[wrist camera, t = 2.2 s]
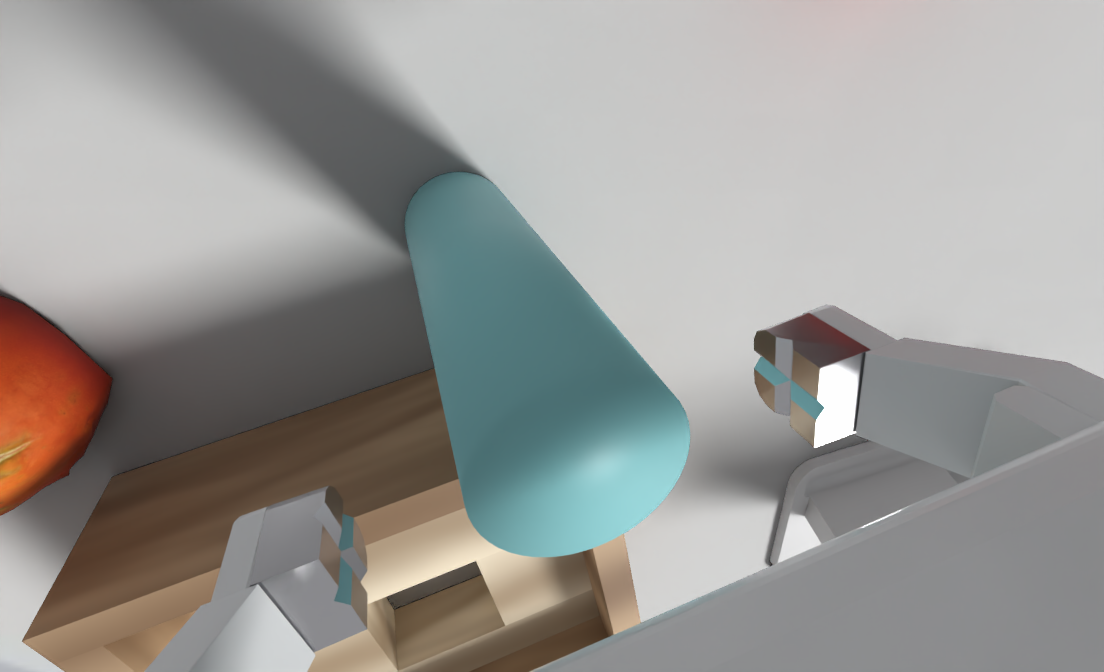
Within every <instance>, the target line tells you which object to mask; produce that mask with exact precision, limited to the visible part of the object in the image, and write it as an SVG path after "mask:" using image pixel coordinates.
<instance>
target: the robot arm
mask: <svg viewBox="0 0 1104 672" xmlns="http://www.w3.org/2000/svg"><path fill="white" fill-rule="evenodd" d="M754 350H755V351H756V352H757V353H758V354H759V355H760V356H761V357H760V359H759V361H758V363H757V364H756V366H755V368H754V376H755V384H756V387H757V389H758V392H759V395H760V396H761V398H762V399H763V401H764V402H765V404H766V405H767V406H768V407H769V408H771V409H772V410H773V411H774V412H776V413H779V414H783V415H786V416H789V418H790V427H792V428H793V429H794V430H795V431H796V432H797V433H798V434H799V435H801V436H802V437H803V438H804V439H805V440H806V441H807V442H808V443H810V444H811V445H812V446H813V447H814V448H816V447H819V446H821V445H824V444H827V443H829V442H832V441H835V440H837V439H840V438H843V437H845V436H848V435H851V434H853V433H856V434H855V435H857V436H859V437H862V438H865V439H867V440H870V441H872V442H875V443H878V444H880V445H883V446H886V447H888V448H891V449H894V450H896V451H899V452H902V453H904V454H907V455H910V456H912V457H915V458H918V459H920V460H923V461H926V462H928V463H931V464H934V465H936V466H939V467H942V468H944V469H947V470H950V471H952V472H955V473H958V474H960V475H963V476H966V477H968V478H970V479H969V480H966V481H964V482H962V483H959V484H957V485H955V486H953V487H950V488H948V489H946V490H943V491H941V492H939V493H937V494H934V495H932V496H930V497H927V498H925V499H923V500H921V501H918V502H916V503H914V504H911V505H909V506H907V507H905V508H902V509H900V510H898V511H895V512H893V513H891V514H889V515H886V516H884V517H882V518H879V519H877V520H875V521H873V522H870V523H868V524H866V525H864V526H861V527H859V528H857V529H854V530H852V531H850V532H848V533H845V534H843V535H841V536H838V537H836V538H834V539H832V540H829V541H827V542H825V543H823V544H820V545H818V546H816V547H813V548H811V549H809V550H807V551H804V552H802V553H800V554H798V555H795V556H793V557H791V558H788V559H786V560H784V561H782V562H779V563H777V564H775V565H772V566H770V567H768V568H766V569H763V570H761V571H759V572H757V573H754V574H752V575H750V576H747V577H745V578H743V579H741V580H738V581H736V582H734V583H731V584H729V585H727V586H724V587H722V588H720V589H718V590H715V591H713V592H711V593H708V594H706V595H704V596H702V597H699V598H697V599H695V600H692V601H690V602H688V603H686V604H683V605H681V606H679V607H676V608H674V609H672V610H669V611H667V612H665V613H663V614H660V615H658V616H656V617H653V618H651V619H649V620H647V621H644V622H642V623H640V624H637V625H635V626H633V627H631V628H628V629H626V630H624V631H621V632H619V633H617V634H614V635H612V636H610V637H608V638H605V639H603V640H601V641H598V642H596V643H594V644H592V645H589V646H587V647H585V648H582V649H580V650H578V651H576V652H573V653H571V654H569V655H566V656H564V657H562V658H559V659H557V660H555V661H553V662H550V663H548V664H546V665H543V666H541V667H539V668H537V669H534V670H532V671H530V672H1104V379H1103V378H1100V377H1098V376H1096V375H1094V374H1092V373H1089V372H1087V371H1085V370H1083V369H1081V368H1078V367H1076V366H1074V365H1072V364H1070V363H1067V362H1062V361H1055V360H1048V359H1042V358H1035V357H1028V356H1022V355H1015V354H1009V353H1002V352H995V351H989V350H982V349H976V348H969V347H962V346H956V345H949V344H942V343H936V342H929V341H923V340H916V339H909V338H903V339H900V340H896V339H894V338H892V337H890V336H889V335H887V334H885V333H883V332H881V331H879V330H878V329H876V328H874V327H872V326H870V325H869V324H867V323H865V322H863V321H861V320H859V319H858V318H856V317H854V316H852V315H850V314H848V313H847V312H845V311H843V310H841V309H839V308H838V307H836V306H832V305H824V306H821V307H819V308H816V309H814V310H811V311H808V312H806V313H803V314H802V315H800V316H797V317H795V318H792V319H789V320H786V321H784V322H781V323H778V324H775V325H773V326H770V327H767V328H765V329H762V330H759V331H757V333H756V335H755V338H754ZM367 571H368V568H367V552H366V547H365V542H364V538H363V536H362V533H361V531H360V528H359V526H358V525H357V523H356V521H355V519H354V518H353V517H350V516H348V515H345V514H343V499H342V498H341V496H340V495H339V493H338V492H337V490H336V489H335V487H332V486H326V487H323V488H320V489H317V490H314V491H311V492H308V493H305V494H302V495H299V496H296V497H293V498H290V499H287V500H284V501H282V502H279V503H276V504H273V505H270V506H269V507H265V508H262V509H259V510H256V511H253V512H250V513H248V514H245V515H242V516H240V517H239V518H238V519H237V520H236V521H235V522H234V523H233V526H232V530H231V533H230V537H229V540H228V543H227V547H226V550H225V554H224V557H223V561H222V564H221V568H220V571H219V575H218V578H217V582H216V585H215V589H214V592H213V596H212V599H211V602H209V603H207V604H204V605H202V606H200V607H199V608H198V610H197V611H196V612H195V613H194V614H193V615H192V617H191V618H190V619H189V620H188V621H187V622H186V623H185V625H184V626H183V627H182V628H181V629H180V630H179V632H178V633H177V634H176V635H175V636H174V637H173V639H172V640H171V641H170V642H169V643H168V644H167V646H166V647H165V648H164V649H163V650H162V651H161V653H160V654H159V655H158V656H157V657H156V658H155V660H154V661H153V662H152V663H151V664H150V665H149V667H148V668H147V669H146V670H145V671H144V672H307V671H308V669H309V667H310V665H311V663H312V661H313V659H314V657H315V653H314V652H316V651H319V650H321V649H323V648H325V647H328V646H330V645H332V644H335V643H337V642H339V641H342V640H344V639H346V638H348V637H351V636H353V635H355V634H358V633H360V632H362V631H364V630H367V601H368V593H367V592H366V590H365V588H364V587H363V585H362V584H361V580H362V579H363V577H364V575H365V574H366V572H367Z"/></svg>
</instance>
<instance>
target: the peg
mask: <svg viewBox="0 0 1104 672" xmlns="http://www.w3.org/2000/svg"><path fill="white" fill-rule="evenodd" d="M405 234H406V239H407V244H408V248H409V253H410V258H411V262H412V267H413V271H414V276H415V280H416V285H417V290H418V294H419V299H420V303H421V308H422V313H423V317H424V322H425V326H426V331H427V336H428V340H429V345H430V349H431V354H432V358H433V363H434V368H435V372H436V377H437V381H438V386H439V391H440V395H441V400H442V404H443V409H444V414H445V418H446V423H447V427H448V432H449V436H450V441H451V446H452V450H453V455H454V459H455V464H456V469H457V473H458V478H459V482H460V487H461V492H462V496H463V501H464V505H465V509H466V512H467V515H468V518H469V519H470V521H471V523H472V525H473V527H474V528H475V529H476V530H477V532H478V533H479V534H480V535H481V536H482V537H483V538H484V539H486V540H487V541H488V542H489V543H491V544H493V545H494V546H496V547H498V548H500V549H502V550H505V551H507V552H510V553H514V554H518V555H522V556H529V557H557V556H564V555H570V554H575V553H579V552H582V551H586V550H589V549H592V548H595V547H597V546H600V545H602V544H604V543H607V542H609V541H611V540H613V539H615V538H617V537H618V536H620V535H622V534H624V533H626V532H627V531H629V530H630V529H632V528H633V527H635V526H636V525H637V524H639V523H640V522H641V521H642V520H644V519H645V518H646V517H647V516H648V515H649V514H651V513H652V512H653V511H654V510H655V509H656V508H657V507H658V506H659V505H660V504H661V502H662V501H663V500H664V499H665V498H666V497H667V495H668V494H669V493H670V491H671V490H672V488H673V487H674V485H675V484H676V482H677V480H678V479H679V477H680V475H681V473H682V470H683V468H684V466H685V463H686V460H687V456H688V452H689V446H690V428H689V421H688V418H687V415H686V413H685V410H684V408H683V407H682V405H681V403H680V401H679V400H678V399H677V398H676V397H675V396H674V394H673V393H672V392H671V391H670V390H669V389H668V387H667V386H666V385H665V384H664V383H663V381H662V380H661V379H660V378H659V377H658V376H657V374H656V373H655V372H654V371H653V370H652V369H651V367H650V366H649V365H648V364H647V363H646V361H645V360H644V359H643V358H642V357H641V356H640V354H639V353H638V352H637V351H636V350H635V349H634V347H633V346H632V345H631V344H630V343H629V341H628V340H627V339H626V338H625V337H624V336H623V334H622V333H621V332H620V331H619V330H618V329H617V327H616V326H615V325H614V324H613V323H612V321H611V320H610V319H609V318H608V317H607V316H606V314H605V313H604V312H603V311H602V310H601V309H600V307H599V306H598V305H597V304H596V303H595V301H594V300H593V299H592V298H591V297H590V296H589V294H588V293H587V292H586V291H585V290H584V289H583V287H582V286H581V285H580V284H579V283H578V282H577V280H576V279H575V278H574V277H573V276H572V274H571V273H570V272H569V271H568V270H567V269H566V267H565V266H564V265H563V264H562V263H561V262H560V260H559V259H558V258H557V257H556V256H555V254H554V253H553V252H552V251H551V250H550V249H549V247H548V246H547V245H546V244H545V243H544V242H543V240H542V239H541V238H540V237H539V236H538V234H537V233H536V232H535V231H534V230H533V229H532V227H531V226H530V225H529V224H528V223H527V222H526V220H525V219H524V218H523V217H522V216H521V214H520V213H519V212H518V211H517V210H516V209H515V207H514V206H513V205H512V204H511V203H510V202H509V200H508V199H507V198H506V197H505V196H504V194H503V193H502V192H501V191H500V190H499V189H498V188H497V187H496V186H495V185H494V184H493V183H492V182H490V181H489V180H487V179H485V178H483V177H481V176H479V175H476V174H473V173H468V172H450V173H445V174H442V175H439V176H436V177H435V178H433V179H431V180H429V181H428V182H426V183H425V184H424V185H423V186H421V187H420V188H419V189H418V191H417V192H416V193H415V194H414V196H413V197H412V199H411V201H410V203H409V205H408V207H407V211H406V215H405Z"/></svg>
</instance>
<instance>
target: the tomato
mask: <svg viewBox="0 0 1104 672" xmlns="http://www.w3.org/2000/svg"><path fill="white" fill-rule="evenodd" d="M112 380H113V379H112V378H111V377H110V376H109V375H108V374H107V373H106V372H105V371H104V370H103V369H102V368H100V367H99V366H98V365H97V364H96V363H95V362H94V361H93V360H92V359H91V358H90V357H89V356H87V355H86V354H85V353H84V352H83V351H82V350H81V349H80V348H79V347H78V346H77V345H76V344H74V343H73V342H72V341H71V340H70V339H69V338H68V337H67V336H66V335H65V334H63V333H62V332H61V331H59V330H58V329H57V328H55V327H54V326H53V325H51V324H50V323H49V322H47V321H46V320H45V319H43V318H42V317H41V316H39V315H38V314H37V313H35V312H34V311H33V310H31V309H30V308H29V307H27V306H26V305H25V304H22V303H19V302H17V301H14V300H11V299H8V298H5V297H3V296H0V516H1V515H3V514H5V513H7V512H9V511H11V510H13V509H14V508H16V507H17V506H19V505H20V504H22V503H23V502H25V501H26V500H28V499H29V498H31V497H32V496H34V495H35V494H36V493H37V492H39V491H40V490H42V489H43V488H44V487H46V486H48V485H50V484H52V483H54V482H56V481H57V480H59V479H61V478H64V477H66V476H68V475H69V469H70V468H71V467H72V466H73V465H74V464H75V463H76V462H77V461H78V460H79V459H80V458H81V457H82V456H83V455H84V453H85V451H86V449H87V447H88V445H89V443H90V441H91V439H92V437H93V435H94V433H95V430H96V428H97V425H98V423H99V420H100V418H101V416H102V414H103V411H104V409H105V407H106V405H107V403H108V398H109V394H110V389H111V384H112Z"/></svg>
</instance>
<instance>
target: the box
mask: <svg viewBox="0 0 1104 672" xmlns="http://www.w3.org/2000/svg"><path fill="white" fill-rule="evenodd" d="M326 486H332V487H335V489H336V490H337V492H338V493H339V495H340V496H341V498H342V499H343V514H345V515H348V516H350V517H353V518H354V519H355V521H356V523H357V525H358V526H359V528H360V531H361V533H362V536H363V538H364V542H365V547H366V552H367V568H368V571H367V572H366V574H365V575H364V577H363V579H362V580H361V584H362V585H363V587H364V588H365V590H366V592H367V593H368V601H367V630H364V631H362V632H360V633H358V634H355V635H353V636H351V637H348V638H346V639H344V640H342V641H339V642H337V643H335V644H332V645H330V646H328V647H325V648H323V649H321V650H319V651H316V652H314V653H315V657H314V659H313V661H312V663H311V665H310V667H309V669H308V671H307V672H530V671H532V670H534V669H537V668H539V667H541V666H543V665H546V664H548V663H550V662H553V661H555V660H557V659H559V658H562V657H564V656H566V655H569V654H571V653H573V652H576V651H578V650H580V649H582V648H585V647H587V646H589V645H592V644H594V643H596V642H598V641H601V640H603V639H605V638H608V637H610V636H612V635H614V634H617V633H619V632H621V631H624V630H626V629H628V628H631V627H633V626H635V625H637V624H640V623H641V621H640V616H639V611H638V606H637V600H636V595H635V590H634V585H633V579H632V574H631V569H630V564H629V559H628V553H627V548H626V543H625V538H624V534H622V535H620V536H618V537H617V538H615V539H613V540H611V541H609V542H607V543H604V544H602V545H600V546H597V547H595V548H592V549H589V550H586V551H582V552H579V553H575V554H570V555H564V556H557V557H529V556H522V555H518V554H514V553H510V552H507V551H505V550H502V549H500V548H498V547H496V546H494V545H493V544H491V543H489V542H488V541H487V540H486V539H484V538H483V537H482V536H481V535H480V534H479V533H478V532H477V530H476V529H475V528H474V527H473V525H472V523H471V521H470V519H469V518H468V515H467V512H466V509H465V505H464V501H463V496H462V492H461V487H460V482H459V478H458V473H457V469H456V464H455V459H454V455H453V450H452V446H451V441H450V436H449V432H448V427H447V423H446V418H445V414H444V409H443V404H442V400H441V395H440V391H439V386H438V381H437V377H436V372H435V368H433V369H430V370H428V371H425V372H422V373H419V374H416V375H413V376H410V377H407V378H404V379H401V380H398V381H395V382H392V383H389V384H386V385H383V386H380V387H377V388H374V389H371V390H368V391H365V392H362V393H359V394H356V395H354V396H351V397H348V398H345V399H342V400H339V401H336V402H333V403H330V404H327V405H324V406H321V407H318V408H315V409H312V410H309V411H306V412H303V413H300V414H297V415H294V416H291V417H288V418H285V419H282V420H279V421H277V422H274V423H271V424H268V425H265V426H262V427H259V428H256V429H253V430H250V431H247V432H244V433H241V434H238V435H235V436H232V437H229V438H226V439H223V440H220V441H217V442H214V443H211V444H208V445H205V446H202V447H200V448H197V449H194V450H191V451H188V452H185V453H182V454H179V455H176V456H173V457H170V458H167V459H164V460H161V461H158V462H155V463H152V464H149V465H146V466H143V467H140V468H137V469H134V470H131V471H128V472H126V473H123V474H120V475H117V476H114V477H112V478H111V480H110V482H109V484H108V485H107V487H106V489H105V491H104V493H103V494H102V496H101V498H100V500H99V502H98V504H97V505H96V507H95V509H94V511H93V513H92V515H91V516H90V518H89V520H88V522H87V524H86V525H85V527H84V529H83V531H82V533H81V535H80V536H79V538H78V540H77V542H76V544H75V546H74V547H73V549H72V551H71V553H70V555H69V556H68V558H67V560H66V562H65V564H64V566H63V567H62V569H61V571H60V573H59V575H58V576H57V578H56V580H55V582H54V584H53V586H52V587H51V589H50V591H49V593H48V595H47V597H46V598H45V600H44V602H43V604H42V606H41V607H40V609H39V611H38V613H37V615H36V617H35V618H34V620H33V622H32V624H31V626H30V628H29V629H28V631H27V633H26V635H25V637H24V638H23V640H22V642H23V643H25V644H26V645H28V646H29V647H30V648H32V649H33V650H35V651H36V652H38V653H39V654H40V655H42V656H43V657H45V658H46V659H48V660H49V661H50V662H52V663H53V664H55V665H56V666H57V667H59V668H60V669H62V670H63V671H65V672H144V671H145V670H146V669H147V668H148V667H149V665H150V664H151V663H152V662H153V661H154V660H155V658H156V657H157V656H158V655H159V654H160V653H161V651H162V650H163V649H164V648H165V647H166V646H167V644H168V643H169V642H170V641H171V640H172V639H173V637H174V636H175V635H176V634H177V633H178V632H179V630H180V629H181V628H182V627H183V626H184V625H185V623H186V622H187V621H188V620H189V619H190V618H191V617H192V615H193V614H194V613H195V612H196V611H197V610H198V608H199V607H200V606H202V605H204V604H207V603H209V602H211V599H212V596H213V592H214V589H215V585H216V582H217V578H218V575H219V571H220V568H221V564H222V561H223V557H224V554H225V550H226V547H227V543H228V540H229V537H230V533H231V530H232V526H233V523H234V522H235V521H236V520H237V519H238V518H239V517H240V516H242V515H245V514H248V513H250V512H253V511H256V510H259V509H262V508H265V507H269V506H270V505H273V504H276V503H279V502H282V501H284V500H287V499H290V498H293V497H296V496H299V495H302V494H305V493H308V492H311V491H314V490H317V489H320V488H323V487H326ZM475 561H476V562H477V564H478V567H479V569H480V571H481V573H482V575H480V576H477V577H475V578H472V579H470V580H467V581H465V582H462V583H460V584H458V585H455V586H453V587H450V588H448V589H445V590H443V591H440V592H438V593H435V594H433V595H430V596H428V597H425V598H423V599H420V600H418V601H415V602H413V603H410V604H408V605H405V606H403V607H400V608H398V609H396V610H394V609H393V607H392V606H391V604H390V603H389V601H388V600H387V598H386V597H387V596H389V595H392V594H394V593H397V592H399V591H402V590H404V589H407V588H409V587H412V586H414V585H417V584H419V583H422V582H424V581H427V580H429V579H432V578H434V577H437V576H439V575H442V574H444V573H447V572H449V571H452V570H454V569H457V568H460V567H462V566H465V565H467V564H470V563H472V562H475Z"/></svg>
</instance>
